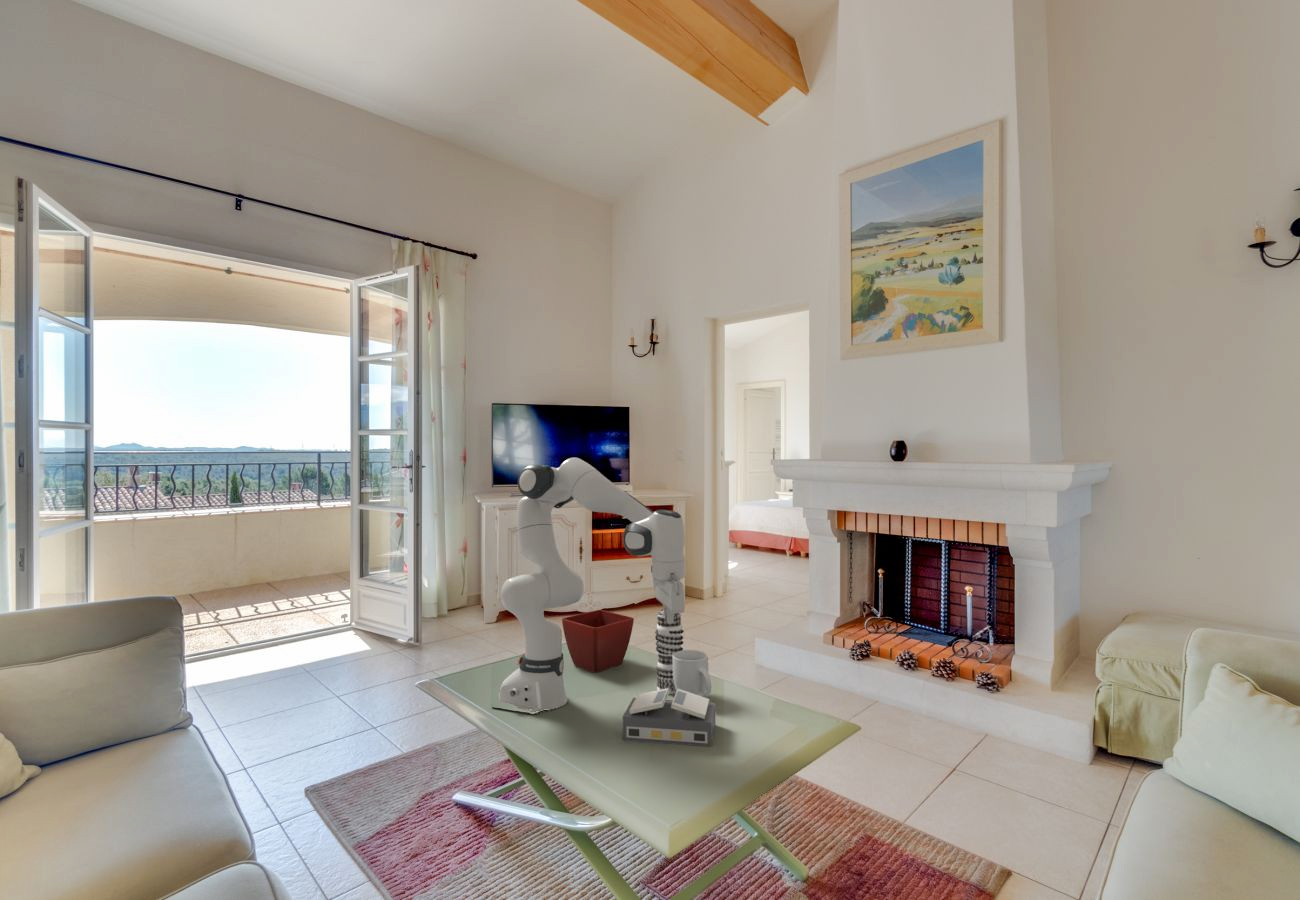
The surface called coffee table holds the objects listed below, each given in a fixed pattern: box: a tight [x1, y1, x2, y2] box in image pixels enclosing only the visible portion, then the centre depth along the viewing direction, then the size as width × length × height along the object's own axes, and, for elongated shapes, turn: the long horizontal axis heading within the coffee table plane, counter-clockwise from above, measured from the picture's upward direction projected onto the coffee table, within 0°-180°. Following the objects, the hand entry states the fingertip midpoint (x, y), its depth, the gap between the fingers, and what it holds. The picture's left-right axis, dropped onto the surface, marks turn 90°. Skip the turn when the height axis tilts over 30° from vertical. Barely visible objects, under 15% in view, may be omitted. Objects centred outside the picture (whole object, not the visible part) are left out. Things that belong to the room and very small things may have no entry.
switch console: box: [622, 697, 716, 748], centre depth 160 cm, size 23×13×7 cm, turn 79°
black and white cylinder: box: [654, 608, 685, 695], centre depth 191 cm, size 9×9×25 cm
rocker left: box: [629, 688, 670, 714], centre depth 161 cm, size 9×11×1 cm
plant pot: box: [561, 609, 635, 673], centre depth 216 cm, size 19×19×17 cm
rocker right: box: [671, 689, 710, 719], centre depth 159 cm, size 9×11×1 cm
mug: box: [672, 649, 712, 698], centre depth 182 cm, size 15×11×13 cm
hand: (669, 622), depth 161 cm, fingers closed
